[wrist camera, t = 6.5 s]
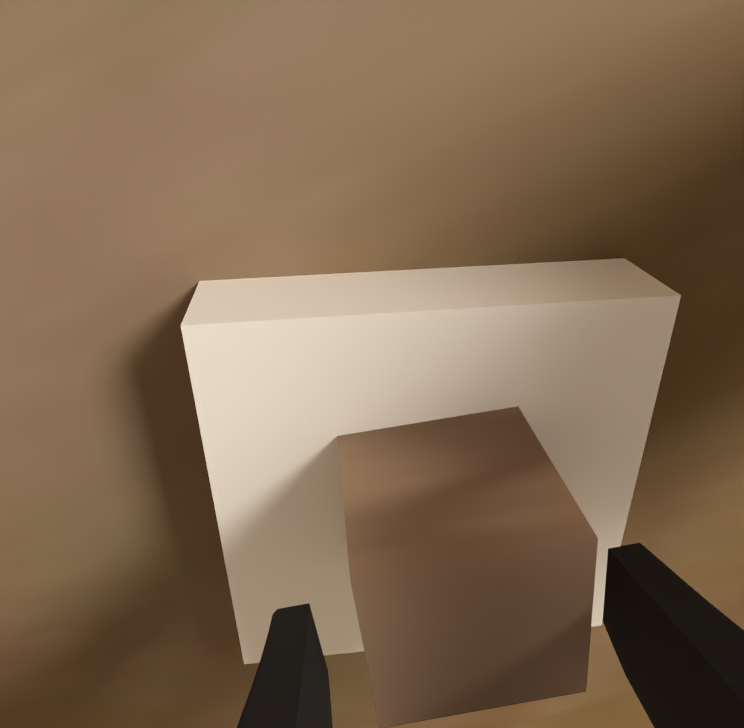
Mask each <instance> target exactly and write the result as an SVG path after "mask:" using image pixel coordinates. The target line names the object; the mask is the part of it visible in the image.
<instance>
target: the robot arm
mask: <svg viewBox="0 0 744 728" xmlns="http://www.w3.org/2000/svg"><path fill="white" fill-rule="evenodd" d="M603 622H604V625H605V627H606V630H607V632H608V634H609V637H610V639H611V642H612V644H613V647H614V649H615V651H616V654H617V656H618V658H619V661H620V663H621V665H622V668H623V670H624V672H625V674H626V676H627V678H628V680H629V682H630V684H631V686H632V688H633V689H634V691H635V693H636V695H637V697H638V698H639V700H640V702H641V704H642V706H643V708H644V709H645V711H646V713H647V715H648V717H649V719H650V720H651V722H652V724H653V726H654V727H655V728H744V630H743V629H741V628H740V627H739V626H738V625H736V624H735V623H734V622H733V621H731V620H730V619H729V618H728V617H726V616H725V615H724V614H723V613H721V612H720V611H719V610H718V609H717V608H715V607H714V606H713V605H712V604H711V603H709V602H708V601H707V600H706V599H705V598H703V597H702V596H701V595H700V594H699V593H698V592H696V591H695V590H694V589H693V588H692V587H690V586H689V585H688V584H687V583H686V582H685V581H683V580H682V579H681V578H680V577H679V576H678V575H676V574H675V573H674V572H673V571H672V570H671V569H670V568H668V567H667V566H666V565H665V564H664V563H663V562H662V561H660V560H659V559H658V558H657V557H656V556H655V555H654V554H652V553H651V552H650V551H649V550H648V549H647V548H645V547H644V546H643V545H642V544H640V543H636V544H631V545H625V546H620V547H614V548H609V549H608V557H607V570H606V583H605V596H604V609H603ZM237 728H332V715H331V702H330V690H329V678H328V670H327V666H326V662H325V659H324V655H323V651H322V648H321V644H320V640H319V637H318V633H317V630H316V626H315V622H314V619H313V615H312V611H311V608H310V604H309V603H308V604H302V605H297V606H291V607H286V608H280V609H277V610H276V611H275V612H274V613H273V615H272V619H271V623H270V627H269V631H268V635H267V639H266V642H265V646H264V650H263V653H262V656H261V659H260V663H259V666H258V669H257V672H256V675H255V678H254V681H253V684H252V687H251V690H250V693H249V696H248V698H247V701H246V704H245V707H244V709H243V712H242V715H241V718H240V720H239V723H238V726H237Z"/></svg>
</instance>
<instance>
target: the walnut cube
mask: <svg viewBox="0 0 744 728" xmlns="http://www.w3.org/2000/svg"><path fill="white" fill-rule="evenodd" d="M337 440H338V451H339V462H340V473H341V484H342V495H343V506H344V517H345V528H346V539H347V550H348V561H349V572H350V582H351V587H352V592H353V597H354V602H355V607H356V612H357V617H358V622H359V627H360V632H361V637H362V642H363V647H364V652H365V657H366V662H367V667H368V672H369V677H370V682H371V687H372V692H373V697H374V702H375V707H376V712H377V717H378V722H379V727H380V728H385V727H391V726H397V725H402V724H408V723H413V722H419V721H424V720H430V719H436V718H441V717H447V716H452V715H458V714H463V713H469V712H474V711H480V710H486V709H491V708H497V707H502V706H508V705H513V704H519V703H525V702H530V701H536V700H541V699H547V698H552V697H558V696H564V695H569V694H575V693H580V692H586V685H587V673H588V660H589V647H590V634H591V622H592V609H593V596H594V584H595V571H596V558H597V546H598V538H597V536H596V534H595V533H594V531H593V529H592V528H591V526H590V524H589V523H588V521H587V519H586V518H585V516H584V514H583V513H582V511H581V509H580V508H579V506H578V504H577V503H576V501H575V500H574V498H573V496H572V495H571V493H570V491H569V490H568V488H567V486H566V485H565V483H564V481H563V480H562V478H561V476H560V475H559V473H558V471H557V470H556V468H555V466H554V465H553V463H552V461H551V460H550V458H549V457H548V455H547V453H546V452H545V450H544V448H543V447H542V445H541V443H540V442H539V440H538V438H537V437H536V435H535V433H534V432H533V430H532V428H531V427H530V425H529V423H528V422H527V420H526V418H525V417H524V415H523V414H522V412H521V410H520V409H519V407H518V406H517V407H511V408H505V409H498V410H492V411H486V412H480V413H474V414H468V415H462V416H456V417H450V418H444V419H438V420H431V421H425V422H419V423H413V424H407V425H401V426H395V427H389V428H383V429H377V430H371V431H364V432H358V433H352V434H346V435H340V436H337Z"/></svg>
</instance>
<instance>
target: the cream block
mask: <svg viewBox="0 0 744 728" xmlns="http://www.w3.org/2000/svg"><path fill="white" fill-rule="evenodd" d="M680 298H681V295H680V294H678V293H677V292H675V291H674V290H672V289H671V288H669V287H668V286H666V285H664V284H663V283H661V282H660V281H658V280H657V279H655V278H654V277H652V276H651V275H649V274H648V273H646V272H645V271H643V270H642V269H640V268H639V267H637V266H636V265H634V264H632V263H631V262H629V261H628V260H626V259H625V258H618V259H600V260H581V261H563V262H544V263H526V264H507V265H489V266H470V267H452V268H433V269H415V270H396V271H378V272H359V273H341V274H322V275H304V276H285V277H267V278H248V279H230V280H211V281H199V283H198V286H197V288H196V290H195V293H194V295H193V297H192V300H191V302H190V305H189V307H188V309H187V312H186V314H185V316H184V319H183V321H182V323H181V331H182V336H183V341H184V347H185V352H186V357H187V363H188V368H189V373H190V379H191V384H192V389H193V395H194V400H195V405H196V411H197V416H198V421H199V427H200V432H201V437H202V443H203V448H204V453H205V459H206V464H207V469H208V475H209V480H210V485H211V491H212V496H213V501H214V507H215V512H216V517H217V523H218V528H219V533H220V539H221V544H222V549H223V555H224V560H225V565H226V571H227V576H228V581H229V587H230V592H231V597H232V603H233V608H234V613H235V619H236V624H237V629H238V635H239V640H240V645H241V651H242V656H243V661H244V664H251V663H260V659H261V656H262V653H263V650H264V646H265V642H266V639H267V635H268V631H269V627H270V623H271V619H272V615H273V613H274V612H275V611H276V610H277V609H280V608H286V607H291V606H297V605H302V604H308V603H309V604H310V608H311V611H312V615H313V619H314V622H315V626H316V630H317V633H318V637H319V640H320V644H321V648H322V651H323V655H324V656H325V655H334V654H343V653H353V652H362V651H364V647H363V642H362V637H361V632H360V627H359V622H358V617H357V612H356V607H355V602H354V597H353V592H352V587H351V582H350V572H349V561H348V550H347V539H346V528H345V517H344V506H343V495H342V484H341V473H340V462H339V451H338V440H337V436H340V435H346V434H352V433H358V432H364V431H371V430H377V429H383V428H389V427H395V426H401V425H407V424H413V423H419V422H425V421H431V420H438V419H444V418H450V417H456V416H462V415H468V414H474V413H480V412H486V411H492V410H498V409H505V408H511V407H517V406H518V407H519V409H520V410H521V412H522V414H523V415H524V417H525V418H526V420H527V422H528V423H529V425H530V427H531V428H532V430H533V432H534V433H535V435H536V437H537V438H538V440H539V442H540V443H541V445H542V447H543V448H544V450H545V452H546V453H547V455H548V457H549V458H550V460H551V461H552V463H553V465H554V466H555V468H556V470H557V471H558V473H559V475H560V476H561V478H562V480H563V481H564V483H565V485H566V486H567V488H568V490H569V491H570V493H571V495H572V496H573V498H574V500H575V501H576V503H577V504H578V506H579V508H580V509H581V511H582V513H583V514H584V516H585V518H586V519H587V521H588V523H589V524H590V526H591V528H592V529H593V531H594V533H595V534H596V536H597V538H598V546H597V558H596V571H595V584H594V596H593V609H592V622H591V627H592V626H601V625H602V621H603V609H604V596H605V583H606V570H607V557H608V549H609V548H614V547H620V546H621V542H622V538H623V534H624V530H625V526H626V522H627V517H628V513H629V509H630V505H631V501H632V497H633V493H634V488H635V484H636V480H637V476H638V472H639V468H640V464H641V459H642V455H643V451H644V447H645V443H646V439H647V435H648V430H649V426H650V422H651V418H652V414H653V410H654V406H655V402H656V397H657V393H658V389H659V385H660V381H661V377H662V373H663V368H664V364H665V360H666V356H667V352H668V348H669V344H670V339H671V335H672V331H673V327H674V323H675V319H676V315H677V310H678V306H679V302H680Z"/></svg>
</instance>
